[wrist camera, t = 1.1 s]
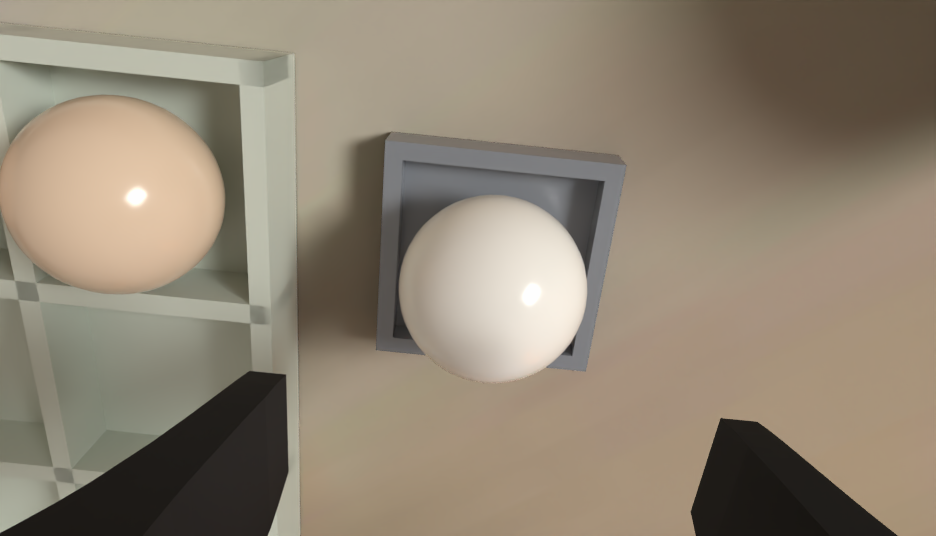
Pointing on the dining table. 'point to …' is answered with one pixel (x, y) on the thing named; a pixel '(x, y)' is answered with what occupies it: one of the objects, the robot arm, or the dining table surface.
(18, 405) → the egg tray
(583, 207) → the dish
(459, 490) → the dining table surface
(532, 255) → the white egg
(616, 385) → the dining table surface
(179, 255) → the brown egg
